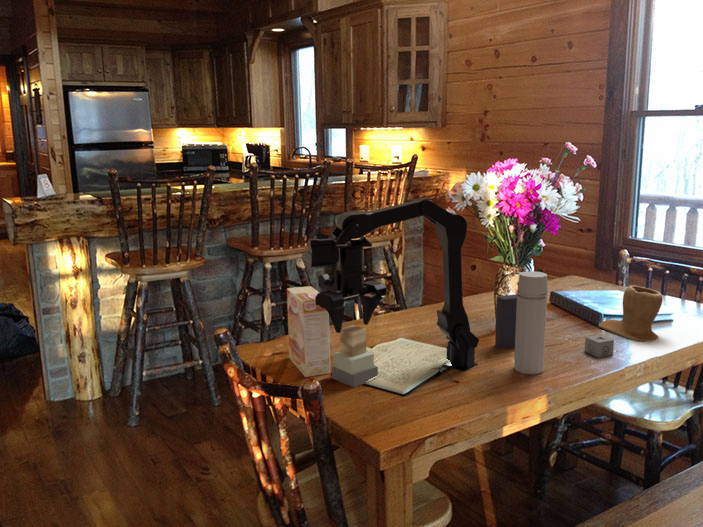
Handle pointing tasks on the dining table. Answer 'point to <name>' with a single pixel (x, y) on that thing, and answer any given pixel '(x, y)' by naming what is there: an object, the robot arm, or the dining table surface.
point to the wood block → (353, 340)
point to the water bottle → (530, 322)
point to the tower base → (354, 376)
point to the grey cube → (599, 345)
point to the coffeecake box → (308, 332)
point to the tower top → (353, 362)
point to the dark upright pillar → (506, 321)
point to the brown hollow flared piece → (636, 314)
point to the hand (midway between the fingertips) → (352, 328)
